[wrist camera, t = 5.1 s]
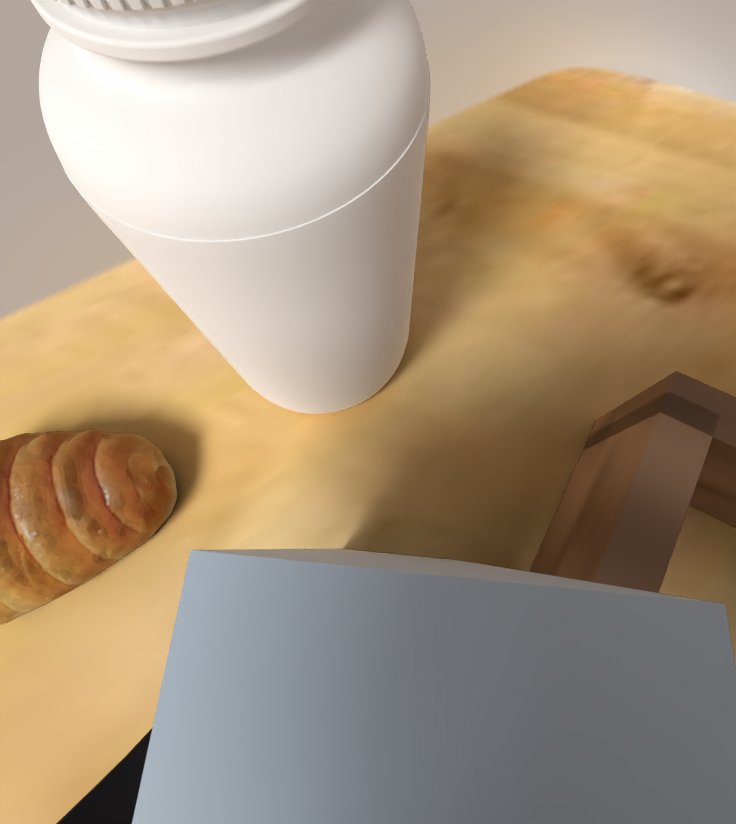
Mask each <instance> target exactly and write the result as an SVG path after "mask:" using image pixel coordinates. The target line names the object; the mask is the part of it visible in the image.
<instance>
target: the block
mask: <svg viewBox="0 0 736 824" xmlns="http://www.w3.org/2000/svg"><path fill="white" fill-rule="evenodd" d="M132 824H736V666H735V660H734V654H733V648H732V642H731V636H730V630H729V624H728V617H727V611H726V605H725V604H722V603H715V602H709V601H703V600H697V599H691V598H685V597H679V596H673V595H667V594H661V593H655V592H649V591H643V590H637V589H630V588H624V587H618V586H612V585H606V584H600V583H594V582H588V581H582V580H576V579H570V578H564V577H558V576H551V575H545V574H539V573H533V572H527V571H521V570H515V569H509V568H503V567H497V566H491V565H485V564H479V563H473V562H466V561H460V560H451V559H441V558H431V557H421V556H410V555H400V554H390V553H380V552H370V551H360V550H350V549H254V550H191V552H190V556H189V561H188V566H187V570H186V575H185V580H184V584H183V589H182V594H181V598H180V603H179V607H178V612H177V617H176V621H175V626H174V631H173V635H172V640H171V645H170V649H169V654H168V658H167V663H166V668H165V672H164V677H163V682H162V686H161V691H160V696H159V700H158V705H157V709H156V714H155V719H154V723H153V728H152V733H151V737H150V742H149V747H148V751H147V756H146V760H145V765H144V770H143V774H142V779H141V784H140V788H139V793H138V798H137V802H136V807H135V811H134V816H133V821H132Z"/></svg>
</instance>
